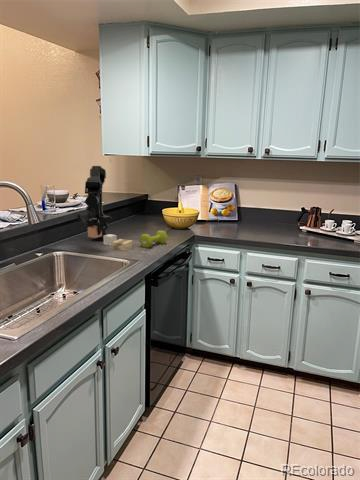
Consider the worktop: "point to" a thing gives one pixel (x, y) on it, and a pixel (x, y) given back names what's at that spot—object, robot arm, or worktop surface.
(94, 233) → the terracotta cube
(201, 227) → the worktop surface
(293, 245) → the worktop surface
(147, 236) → the dumbbell
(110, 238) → the offwhite cube
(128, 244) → the oak base block
